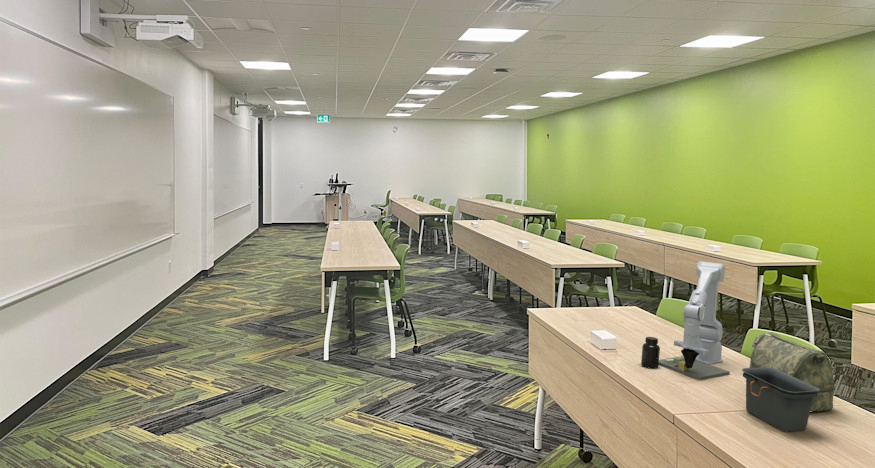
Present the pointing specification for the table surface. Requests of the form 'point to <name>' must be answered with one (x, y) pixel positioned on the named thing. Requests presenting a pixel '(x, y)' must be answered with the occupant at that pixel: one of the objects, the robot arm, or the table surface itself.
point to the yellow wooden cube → (682, 366)
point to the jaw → (678, 359)
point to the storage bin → (778, 398)
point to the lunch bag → (796, 365)
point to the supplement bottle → (650, 353)
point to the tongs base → (695, 369)
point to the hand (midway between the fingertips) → (689, 367)
